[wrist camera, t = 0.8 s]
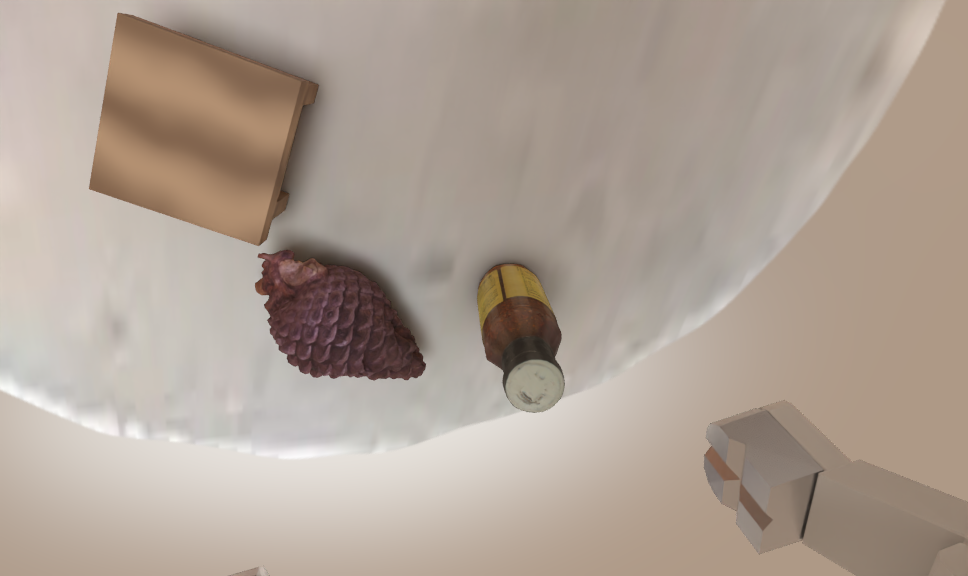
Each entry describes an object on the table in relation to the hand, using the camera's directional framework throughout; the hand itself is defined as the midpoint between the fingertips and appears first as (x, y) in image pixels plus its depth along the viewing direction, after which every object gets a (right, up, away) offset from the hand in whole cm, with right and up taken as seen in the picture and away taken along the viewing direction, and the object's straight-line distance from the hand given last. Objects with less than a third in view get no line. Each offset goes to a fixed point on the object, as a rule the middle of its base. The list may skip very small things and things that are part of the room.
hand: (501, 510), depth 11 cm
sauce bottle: (+2, +4, +49) cm, 49 cm away
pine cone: (-13, +2, +49) cm, 51 cm away
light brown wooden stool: (-22, +18, +43) cm, 52 cm away
